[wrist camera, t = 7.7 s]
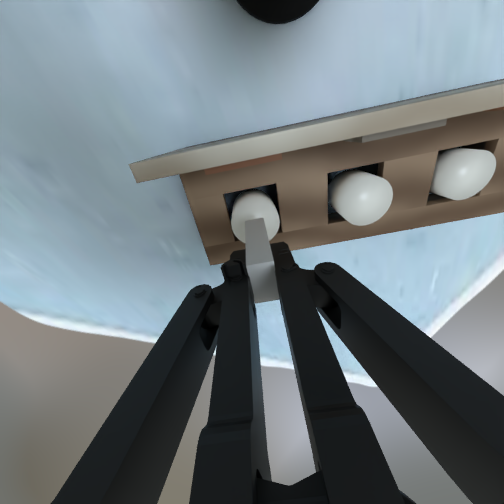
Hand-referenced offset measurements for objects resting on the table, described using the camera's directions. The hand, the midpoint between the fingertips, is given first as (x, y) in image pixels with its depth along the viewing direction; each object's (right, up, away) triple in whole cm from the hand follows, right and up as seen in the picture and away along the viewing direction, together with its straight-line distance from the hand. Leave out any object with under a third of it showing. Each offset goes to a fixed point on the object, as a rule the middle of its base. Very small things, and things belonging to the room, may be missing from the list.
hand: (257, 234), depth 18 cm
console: (+9, +8, +8) cm, 15 cm away
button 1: (0, +3, +5) cm, 6 cm away
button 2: (+19, +7, +6) cm, 21 cm away
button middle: (+10, +5, +5) cm, 12 cm away
